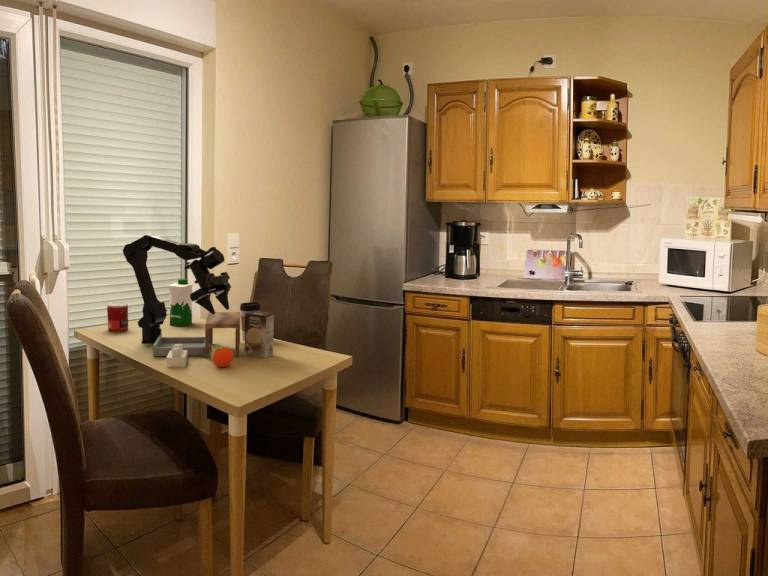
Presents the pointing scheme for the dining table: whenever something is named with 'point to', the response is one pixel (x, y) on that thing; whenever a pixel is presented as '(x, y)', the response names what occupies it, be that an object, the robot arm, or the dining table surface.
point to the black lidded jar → (245, 309)
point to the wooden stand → (222, 322)
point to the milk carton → (180, 303)
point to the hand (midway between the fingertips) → (221, 311)
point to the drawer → (189, 343)
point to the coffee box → (259, 334)
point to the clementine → (222, 356)
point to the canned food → (117, 316)
